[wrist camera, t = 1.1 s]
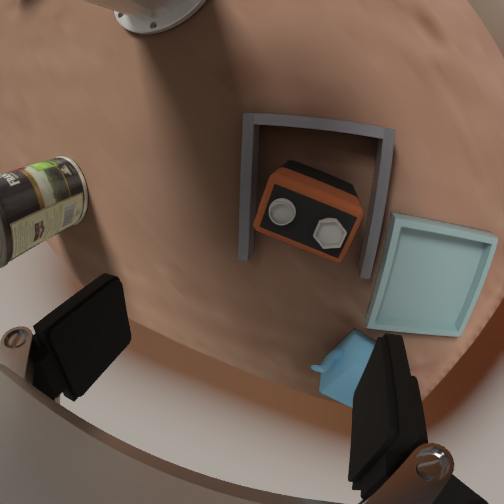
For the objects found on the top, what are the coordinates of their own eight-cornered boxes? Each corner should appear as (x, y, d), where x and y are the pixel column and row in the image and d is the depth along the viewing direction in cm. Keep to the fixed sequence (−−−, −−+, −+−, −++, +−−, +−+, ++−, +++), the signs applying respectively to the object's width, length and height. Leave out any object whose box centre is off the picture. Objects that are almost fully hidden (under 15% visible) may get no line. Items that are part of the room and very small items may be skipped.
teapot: (301, 341, 35) (292, 387, 28) (331, 309, 32) (329, 354, 25) (371, 380, 35) (373, 424, 28) (403, 353, 32) (411, 398, 25)
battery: (337, 225, 28) (341, 273, 19) (273, 199, 29) (246, 235, 20) (355, 185, 26) (369, 215, 17) (287, 157, 27) (267, 173, 18)
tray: (391, 211, 26) (395, 218, 24) (490, 232, 24) (498, 238, 22) (365, 317, 31) (366, 328, 30) (455, 326, 29) (460, 336, 27)
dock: (250, 113, 26) (243, 112, 23) (389, 129, 23) (395, 129, 21) (244, 249, 32) (237, 259, 29) (367, 267, 29) (369, 279, 27)
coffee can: (42, 157, 34) (-35, 182, 21) (86, 154, 32) (-5, 181, 19) (49, 222, 38) (-20, 259, 25) (92, 230, 36) (15, 277, 23)
